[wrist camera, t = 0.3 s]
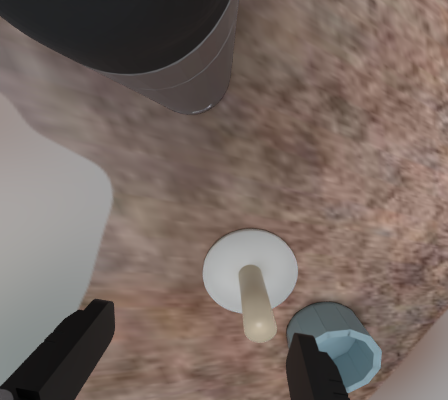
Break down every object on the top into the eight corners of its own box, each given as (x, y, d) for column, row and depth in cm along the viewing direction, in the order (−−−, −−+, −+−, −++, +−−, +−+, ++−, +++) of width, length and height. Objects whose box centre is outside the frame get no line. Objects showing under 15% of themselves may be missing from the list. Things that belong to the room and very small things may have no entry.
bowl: (284, 306, 33) (294, 335, 28) (360, 297, 32) (383, 325, 28) (288, 362, 36) (298, 397, 31) (357, 355, 36) (378, 389, 31)
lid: (196, 234, 30) (183, 280, 20) (293, 222, 30) (326, 263, 20) (210, 313, 34) (205, 384, 24) (297, 303, 33) (327, 372, 23)
